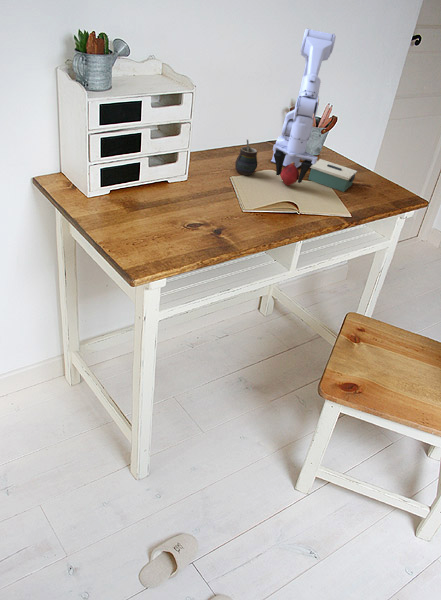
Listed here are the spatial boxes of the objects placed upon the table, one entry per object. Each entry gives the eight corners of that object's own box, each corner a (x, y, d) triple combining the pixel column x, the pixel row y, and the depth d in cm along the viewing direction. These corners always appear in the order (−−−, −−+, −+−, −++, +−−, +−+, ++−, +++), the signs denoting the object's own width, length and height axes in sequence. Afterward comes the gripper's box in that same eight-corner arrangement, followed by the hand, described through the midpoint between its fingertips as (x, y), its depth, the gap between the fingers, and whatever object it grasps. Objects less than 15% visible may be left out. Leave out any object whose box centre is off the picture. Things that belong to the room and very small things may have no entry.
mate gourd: (238, 177, 180) (244, 147, 175) (229, 168, 186) (235, 138, 180) (258, 177, 183) (264, 147, 178) (249, 168, 189) (255, 139, 183)
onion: (290, 190, 178) (295, 166, 173) (275, 184, 180) (280, 160, 176) (299, 186, 182) (305, 163, 178) (284, 180, 184) (289, 157, 180)
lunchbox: (305, 179, 189) (310, 163, 186) (315, 172, 196) (319, 157, 193) (345, 192, 184) (350, 177, 181) (354, 185, 192) (358, 169, 189)
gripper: (272, 132, 171) (263, 174, 179) (316, 146, 167) (304, 188, 174) (281, 128, 177) (272, 169, 184) (323, 142, 172) (312, 183, 180)
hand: (288, 178), depth 180 cm, fingers open, 7 cm apart
